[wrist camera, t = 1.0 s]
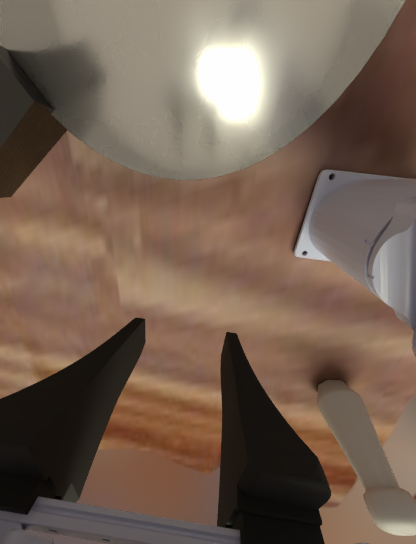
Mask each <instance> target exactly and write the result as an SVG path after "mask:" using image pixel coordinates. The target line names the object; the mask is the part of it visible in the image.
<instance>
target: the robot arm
mask: <svg viewBox="0 0 416 544" xmlns="http://www.w3.org/2000/svg"><path fill="white" fill-rule="evenodd" d="M330 174H333V178H332V179H331V180H329V175H330ZM303 251H306V253H305V254H302V252H303ZM294 255H295V256H296V257H302V258H309V259H317V260H325V261H332V262H333V263H334V264H335V265H337V266H338V267H339V268H341V269H342V270H343V271H345V272H346V273H347V274H349V275H350V276H351V277H353V278H354V279H355V280H356V281H358V282H359V283H360V284H362V285H363V286H364V287H366V288H367V289H368V290H370V291H371V292H372V293H373V294H375V295H376V296H377V297H379V298H380V299H381V300H382V301H384V302H385V303H386V304H388V305H389V306H390V307H392V308H393V309H394V310H395V314H396V317H398V318H399V319H400V320H401V321H403V322H404V323H405V324H406V325H408V326H409V327H410V328H412V329H413V330H414V334H413V339H412V349H413V352H414V355H415V358H416V179H409V178H400V177H391V176H382V175H373V174H364V173H355V172H347V171H338V170H329V169H328V170H323V171H321V172H320V174H319V175H318V179H317V182H316V185H315V188H314V191H313V194H312V197H311V200H310V203H309V206H308V209H307V212H306V215H305V218H304V221H303V224H302V228H301V231H300V234H299V237H298V240H297V243H296V246H295V249H294ZM144 344H145V319H142V318H134V319H133V320H132V321H131V322H130V323H128V324H127V325H126V326H125V327H124V328H122V329H121V330H120V331H119V332H117V333H116V334H115V335H114V336H112V337H111V338H110V339H108V340H107V341H106V342H104V343H103V344H102V345H100V346H99V347H98V348H96V349H95V350H93V351H92V352H90V353H89V354H87V355H86V356H84V357H83V358H81V359H80V360H78V361H76V362H75V363H73V364H71V365H70V366H68V367H66V368H64V369H62V370H61V371H59V372H57V373H55V374H53V375H51V376H49V377H48V378H46V379H44V380H42V381H40V382H37V383H35V384H33V385H31V386H29V387H27V388H25V389H22V390H20V391H18V392H16V393H13V394H11V395H9V396H6V397H4V398H2V399H0V544H53V539H52V538H49V537H46V536H43V535H39V534H36V533H33V532H30V531H27V530H34V531H39V532H45V533H51V534H57V535H63V536H68V537H75V538H80V539H86V540H92V541H99V542H104V543H110V544H324V540H323V536H322V533H321V529H320V526H321V525H322V520H321V517H320V513H319V508H320V507H321V506H323V505H324V504H325V503H326V502H327V501H328V500H329V499H330V496H331V490H330V487H329V484H328V481H327V479H326V476H325V473H324V471H323V469H322V466H321V464H320V462H319V460H318V457H317V456H316V455H315V454H314V453H313V452H312V451H311V450H310V449H309V447H308V446H307V445H306V444H305V443H304V442H303V441H302V440H301V439H300V437H299V436H298V435H297V434H296V433H295V431H294V430H293V429H292V428H291V426H290V425H289V424H288V423H287V421H286V420H285V419H284V417H283V416H282V415H281V413H280V412H279V411H278V409H277V408H276V407H275V405H274V404H273V403H272V401H271V400H270V398H269V397H268V395H267V394H266V392H265V391H264V389H263V387H262V386H261V384H260V382H259V381H258V379H257V377H256V375H255V374H254V372H253V370H252V368H251V366H250V364H249V362H248V360H247V358H246V356H245V353H244V351H243V349H242V346H241V344H240V341H239V339H238V336H237V334H236V333H230V332H227V333H226V337H225V341H224V345H223V350H222V354H221V392H222V443H221V466H220V486H219V504H218V520H217V526H211V525H205V524H200V523H193V522H188V521H181V520H176V519H169V518H163V517H157V516H152V515H146V514H140V513H134V512H128V511H122V510H116V509H110V508H103V507H98V506H91V505H86V504H80V503H76V502H77V501H78V500H79V498H80V495H81V492H82V489H83V487H84V484H85V481H86V479H87V476H88V473H89V470H90V468H91V465H92V462H93V460H94V457H95V454H96V452H97V449H98V447H99V444H100V441H101V439H102V436H103V434H104V431H105V429H106V426H107V424H108V421H109V419H110V417H111V414H112V412H113V409H114V407H115V405H116V402H117V400H118V398H119V396H120V394H121V392H122V390H123V388H124V386H125V384H126V382H127V380H128V378H129V377H130V375H131V373H132V371H133V369H134V367H135V365H136V363H137V361H138V359H139V357H140V355H141V352H142V350H143V347H144ZM26 529H27V530H26ZM356 544H368V543H356Z"/></svg>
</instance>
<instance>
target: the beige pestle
mask: <svg viewBox="0 0 416 544" xmlns="http://www.w3.org/2000/svg"><path fill="white" fill-rule="evenodd" d="M317 405H318V408H319V410H320V412H321V414H322V416H323V417H324V419H325V421H326V423H327V424H328V426H329V428H330V429H331V431H332V433H333V435H334V436H335V438H336V440H337V441H338V443H339V445H340V447H341V448H342V450H343V452H344V454H345V455H346V457H347V459H348V460H349V462H350V464H351V466H352V467H353V469H354V471H355V472H356V474H357V476H358V478H359V479H360V481H361V483H362V484H363V486H364V488H365V490H366V492H365V493H364V494H363V496H364V500H365V503H366V506H367V508H368V510H369V513H370V515H371V517H372V518H373V520H374V522H375V524H376V525H377V526H378V527H379V528H381V529H382V530H383V531H386V532H388V533H390V534H394V535H400V536H409V535H416V501H415V500H414V498H413V497H412V496H411V494H410V493H409V492H407V491H405V490H404V489H402V488H400V487H399V485H398V483H397V480H396V478H395V476H394V473H393V471H392V469H391V466H390V464H389V461H388V459H387V457H386V455H385V452H384V450H383V447H382V445H381V443H380V440H379V438H378V436H377V433H376V431H375V429H374V426H373V424H372V422H371V419H370V417H369V414H368V412H367V409H366V407H365V404H364V402H363V400H362V398H361V397H360V395H359V394H357V393H356V392H355V391H353V390H352V389H351V388H350V387H348V386H347V385H346V384H345V383H344V382H343V381H341V380H326V381H324V382H323V383H321V384H319V385H318V395H317Z"/></svg>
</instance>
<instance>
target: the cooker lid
mask: <svg viewBox="0 0 416 544" xmlns="http://www.w3.org/2000/svg"><path fill="white" fill-rule="evenodd" d="M404 2H405V0H0V198H3V197H11V196H12V195H13V194H14V193H15V191H16V190H17V189H18V188H19V187H20V186H21V184H22V183H23V182H24V181H25V180H26V178H27V177H28V176H29V175H30V174H31V172H32V171H33V170H34V169H35V168H36V166H37V165H38V164H39V163H40V162H41V161H42V159H43V158H44V157H45V156H46V155H47V153H48V152H49V151H50V150H51V149H52V147H53V146H54V145H55V144H56V143H57V141H58V140H59V139H60V138H61V137H62V136H63V134H64V133H65V132H66V131H67V130H68V131H69V132H71V133H72V134H73V135H74V136H76V137H77V138H78V139H80V140H81V141H82V142H84V143H85V144H86V145H87V146H89V147H90V148H91V149H93V150H95V151H96V152H98V153H100V154H101V155H103V156H105V157H106V158H108V159H110V160H111V161H113V162H115V163H118V164H120V165H122V166H124V167H127V168H129V169H131V170H133V171H137V172H140V173H144V174H147V175H151V176H154V177H160V178H167V179H174V180H202V179H208V178H215V177H221V176H224V175H227V174H230V173H234V172H237V171H240V170H242V169H245V168H247V167H249V166H251V165H253V164H255V163H258V162H260V161H262V160H264V159H265V158H267V157H268V156H270V155H272V154H273V153H275V152H276V151H278V150H280V149H281V148H283V147H284V146H286V145H288V144H289V143H290V142H291V141H293V140H294V139H295V138H296V137H297V136H299V135H300V134H301V133H302V132H304V131H305V130H306V129H307V128H309V127H310V126H311V125H312V124H313V123H314V122H315V121H316V120H317V119H318V118H319V117H320V116H321V115H322V114H323V113H324V112H325V111H326V110H327V109H328V108H329V107H330V106H331V105H332V104H333V103H334V102H335V101H336V100H337V99H338V98H339V97H340V95H341V94H342V93H343V92H344V90H345V89H346V88H347V87H348V86H349V84H350V83H351V82H352V81H353V80H354V78H355V77H356V76H357V75H358V74H359V72H360V71H361V70H362V68H363V67H364V65H365V64H366V62H367V61H368V60H369V58H370V57H371V55H372V54H373V52H374V51H375V49H376V48H377V46H378V45H379V44H380V42H381V41H382V39H383V38H384V36H385V35H386V33H387V31H388V30H389V28H390V26H391V25H392V23H393V21H394V19H395V18H396V16H397V14H398V12H399V11H400V9H401V7H402V5H403V4H404Z"/></svg>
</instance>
